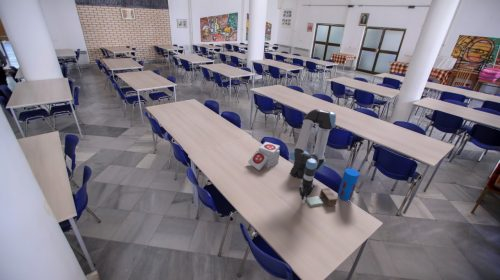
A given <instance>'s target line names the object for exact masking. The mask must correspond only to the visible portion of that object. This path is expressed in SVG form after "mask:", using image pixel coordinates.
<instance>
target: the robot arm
mask: <svg viewBox="0 0 500 280" xmlns="http://www.w3.org/2000/svg"><path fill="white" fill-rule="evenodd" d="M336 120H337V114H336V113H335V112H332V111H328V110H322V109H318V108H316V109H315V108H314V109H313V110H309V112H307V114H305V116H304V117H303V120H302V123H303V124H302V127H301V128H300V129H301V130H300V133H299V136H298V139H297V141H296V144H295V147H294V149H292V150H291V151H290V153H289V159H290V160H292V161H293V166H292V167H291V169H290V173H289V174H290V176H292V177H293V178H295V179H298V180H299V179H300V180H301V179H302V183H301V184H300V185H298V189H299V191H298V192H299V196H300V197H301V198H300V199H301V203H302V204H305V203H306V199H307V198H308V197H310V196H311V193H312V191H313V189H314V188H315V184H314V178H315V175H316V174H315V173H316V171H318V172H322V171H323V169H324V166H325V164H326V161H327V160H326V159H325V158H326V157H325V155H324V154H325V151H326V147H327V143H328V139H329V135H330V131H331V130H333V128H335V126H336V122H337V121H336ZM315 124H317V127H318V131H317V137H316V142H315V145H314V151H313V152H312V153H311V154H310V153H309V152H308V151H306V147H307V144H308V140H309V138H310V135H311V131H312V129H313V126H315Z"/></svg>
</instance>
